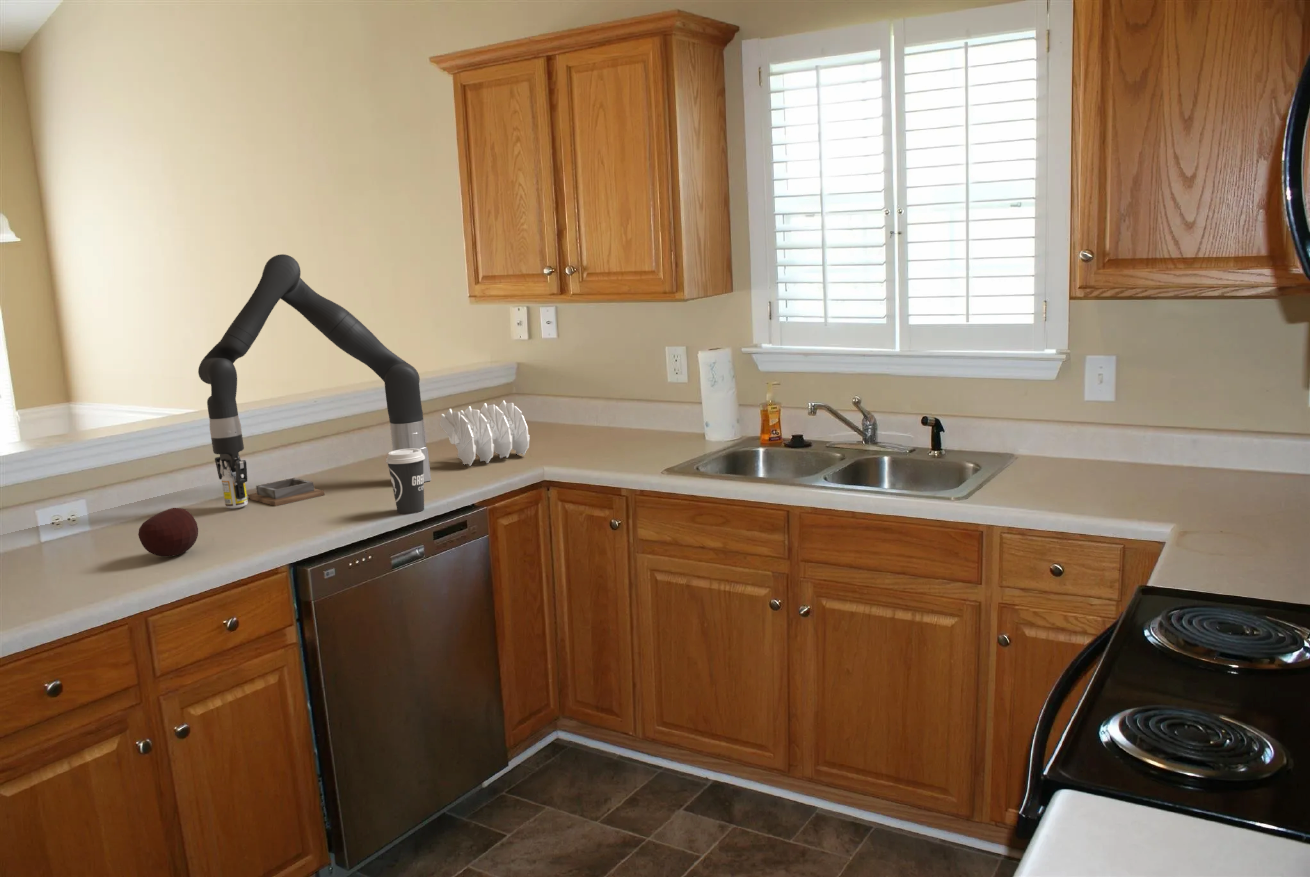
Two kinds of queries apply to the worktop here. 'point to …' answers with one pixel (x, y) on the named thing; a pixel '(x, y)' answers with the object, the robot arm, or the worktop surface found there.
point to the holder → (285, 492)
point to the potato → (169, 532)
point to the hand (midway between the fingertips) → (235, 496)
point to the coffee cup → (407, 479)
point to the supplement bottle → (232, 492)
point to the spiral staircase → (486, 431)
